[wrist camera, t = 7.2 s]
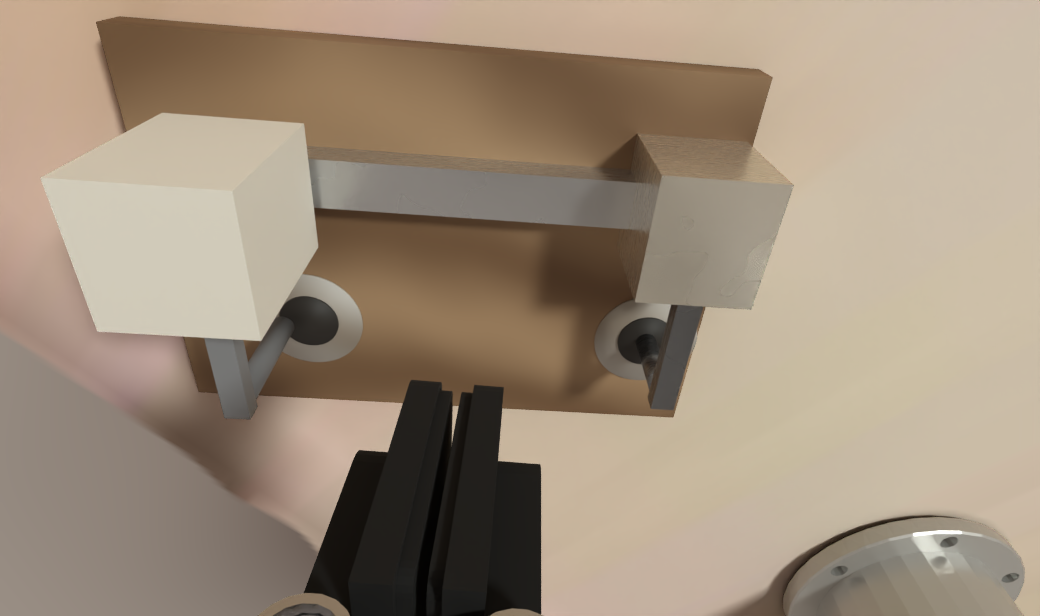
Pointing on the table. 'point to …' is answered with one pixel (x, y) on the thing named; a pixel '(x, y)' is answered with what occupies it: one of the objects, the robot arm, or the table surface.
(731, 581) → the table surface
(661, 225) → the beam
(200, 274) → the sliding leg
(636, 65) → the hole board
